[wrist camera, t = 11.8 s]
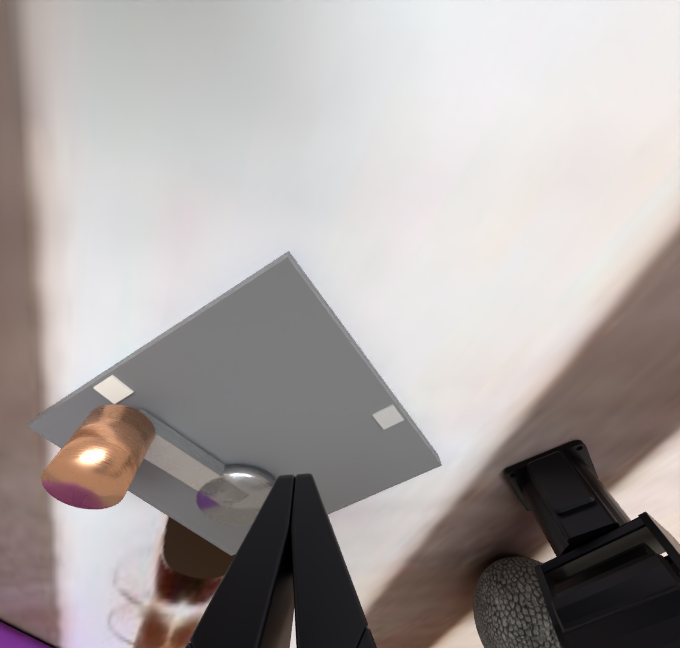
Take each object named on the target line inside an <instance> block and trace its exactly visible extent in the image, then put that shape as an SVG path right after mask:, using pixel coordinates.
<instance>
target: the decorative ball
mask: <svg viewBox="0 0 680 648" xmlns="http://www.w3.org/2000/svg"><path fill="white" fill-rule="evenodd" d="M540 563H541V562H539V561H536V560H533V559H530V558H526V557H518V556H514V557H505V558H502V559H499V560H497V561H495V562H493V563H492V564H491V565H489V566H488V567H487V568H486V569H485V570H484V572H483V573H482V574H481V576H480V578H479V580H478V582H477V585H476V588H475V592H474V600H473V611H474V619H475V624H476V628H477V631H478V634H479V637H480V639H481V642H482V644H483V646H484V648H561V647H560V644H559V641H558V638H557V636H556V633H555V630H554V627H553V624H552V621H551V618H550V616H549V613H548V610H547V607H546V604H545V601H544V598H543V595H542V592H541V590H540V587H539V584H538V581H537V579H538V578H537V575H536V572H535V569H534V566H536V565H538V564H540ZM541 564H543V563H541Z"/></svg>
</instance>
